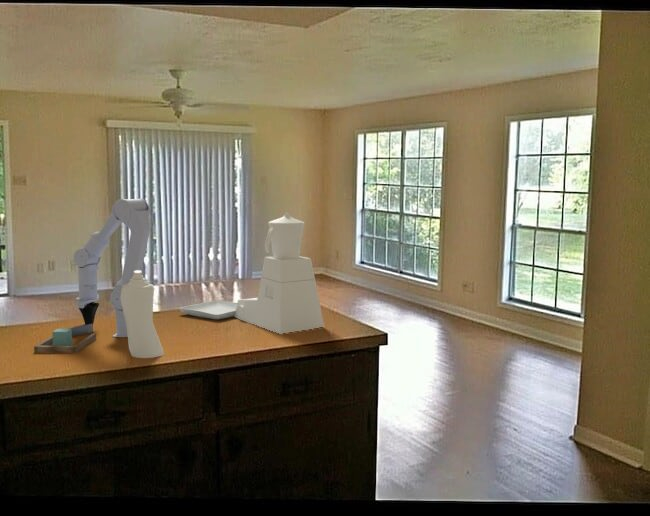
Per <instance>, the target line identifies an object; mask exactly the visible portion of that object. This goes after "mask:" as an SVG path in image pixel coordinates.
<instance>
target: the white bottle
mask: <svg viewBox="0 0 650 516" xmlns="http://www.w3.org/2000/svg"><path fill="white" fill-rule="evenodd" d="M122 287H123V288H122V290H121V296H120V299H121V303H122V308H123V312H124V316H125V321H126V328H127V336H128V338H127V342H128V343H127V344H128V350H129V353H130V355H131V357H133V358H137V359H151V358H158V357H161V356H163V355H164V354H165V353H164V349H163V346H162V344H161V341H160V337H159V335H158V333H157V330H156V327H155V324H154V322H153V321H154V319H153V318H154V316H153V315H154V294H155V293H154V292H155V287H154V284H152V283H149V281H147V280H146V278H145V277H144V275H143V271H140V270H135V271H134V276H133V278H132V279H130V282H129V283H128V284H125V285H123V286H122Z"/></svg>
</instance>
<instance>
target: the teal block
mask: <svg viewBox="0 0 650 516" xmlns="http://www.w3.org/2000/svg"><path fill="white" fill-rule="evenodd" d="M51 333H52V336H53V344H52V346H73V337H72V329H65V328H56V329H55V330H53V331H52V332H51Z"/></svg>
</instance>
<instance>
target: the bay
mask: <svg viewBox="0 0 650 516" xmlns="http://www.w3.org/2000/svg"><path fill="white" fill-rule="evenodd" d="M96 340H97V333H94V332H92V333H90V335H88V336H87V337H85V338H84V339H82V340H80V341H79V342H78V343H76V344H75V345H72V346H53V335H51V336H49V337H48V338H46V339H45V340H43V341H41V342H40V343H38V344H35V345H34V346H33V350H34V351H33V353H34V354H35V353H37V354H41V353H42V354H43V353H44V354H45V353H46V354H47V353H49V354H52V353H53V354H54V353H55V354H57V353H58V354H60V353H64V354H67V353H70V354H71V353H75V354H77V353H78V352H79V350H80V351H81V350H82V348H83V349H84V348H86V347H87V346H89V345H90V344H92V343H93V342H95V341H96ZM88 344H89V345H88ZM85 346H86V347H85Z"/></svg>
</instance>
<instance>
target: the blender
mask: <svg viewBox="0 0 650 516" xmlns="http://www.w3.org/2000/svg"><path fill="white" fill-rule="evenodd" d="M289 212H290V211H288V212H287V211H286V212H284V214H283V216H282V217H281V216H280V217H279V218H276V219H273V220H270V221H268V223H267V224H268V231H267V233H266V237H265V241H264V250H265V253H267V254H269V250H270V245H271V249H272V250H271V251H272V256H264V257H263V265H262V271H261V275H260V280H259V285H258V293H257V297H252V298H242V299H238V300H237V302H236V303H237V306H236V310H235V314H234V318H236V319H238V320H241V321H243V322H245V323H248V324H251V325H253V324H254V325H253V326H256V325H257V327H258V326H259V328H261V327H262V328H261V329H263V328H265V329H264V330H266V329H267V331H269V330H270V332H272V331H273V333H275V332H276V333H275V334H278V333H279V335H284V334H283V333H286V334H288V333H287V332H293V333H295V332H294V331H299V332H302V331H301V330H306V331H308V330H307V329H312V330H314V329H313V328H319V327H324V328H325V326H324V320H323V313H322V308H321V301H320V297H319V291H318V286H317V281H316V277H315V273H314V266H313V262H312V258H311V257H307V256H301V255H300V254H301V248H302V241H303V234H304V230H305V224H306V222H305V221H303V220H300V219H297V218H294V217H293V216H291V214H290V213H289ZM319 329H320V328H319Z"/></svg>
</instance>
